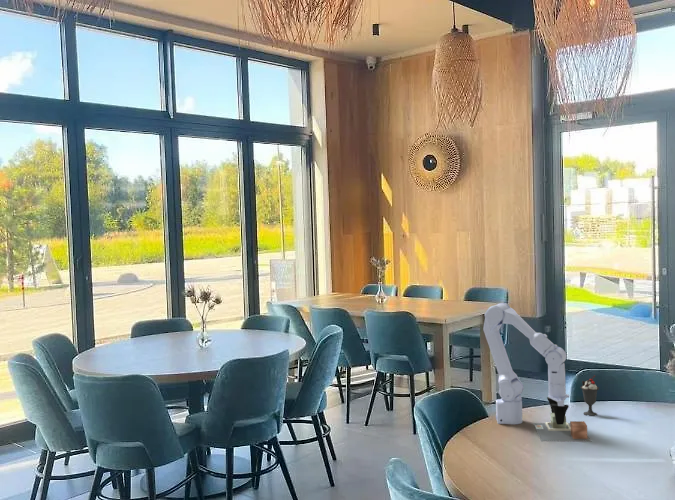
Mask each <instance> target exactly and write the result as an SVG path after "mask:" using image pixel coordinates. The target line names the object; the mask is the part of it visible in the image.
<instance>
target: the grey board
mask: <svg viewBox="0 0 675 500" xmlns="http://www.w3.org/2000/svg"><path fill="white" fill-rule="evenodd" d="M532 424H533V426H534V429H535V431H536V432H537V435H538V437H539V439H540V441H541V442H561V443H562V442H568V443H569V442H570V443H571V442H581V443H583V442H584V443H587V442H588V443H589V442H590V443H591V442H592V439H590V437H589V436H588V434H587V439H573V437H572V436H571V427H570V422H567V421H566V429H554V428H552V427H551V421H550V422H549V421H548V422H547V421H545V422H532Z"/></svg>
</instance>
